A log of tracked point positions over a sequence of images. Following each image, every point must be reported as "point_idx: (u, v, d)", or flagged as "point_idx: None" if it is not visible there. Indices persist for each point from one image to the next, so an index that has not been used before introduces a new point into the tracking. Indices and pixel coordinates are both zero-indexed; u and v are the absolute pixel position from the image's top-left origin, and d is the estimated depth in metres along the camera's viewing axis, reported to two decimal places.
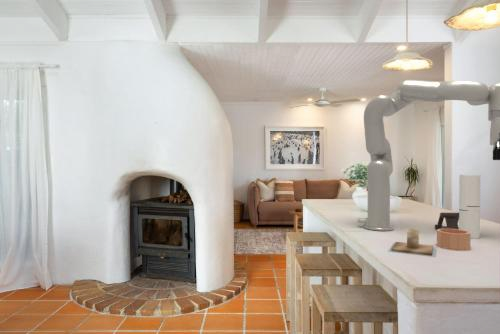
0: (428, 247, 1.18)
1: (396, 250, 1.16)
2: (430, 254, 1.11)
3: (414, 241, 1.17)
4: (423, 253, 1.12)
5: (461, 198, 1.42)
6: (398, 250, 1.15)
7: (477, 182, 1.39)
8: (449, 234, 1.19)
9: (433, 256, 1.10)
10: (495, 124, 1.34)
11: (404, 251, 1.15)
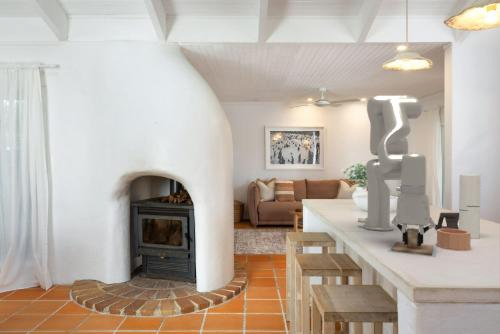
0: (428, 247, 1.18)
1: (396, 250, 1.16)
2: (430, 254, 1.11)
3: (414, 241, 1.17)
4: (423, 253, 1.12)
5: (461, 198, 1.42)
6: (398, 250, 1.15)
7: (477, 182, 1.39)
8: (449, 234, 1.19)
9: (433, 256, 1.10)
10: (428, 202, 1.15)
11: (404, 251, 1.15)
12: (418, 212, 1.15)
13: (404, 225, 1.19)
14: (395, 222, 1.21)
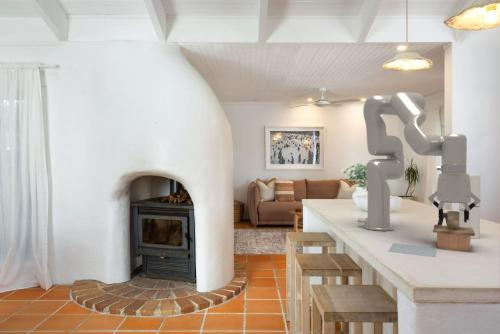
0: (468, 229, 1.22)
1: (438, 231, 1.19)
2: (473, 234, 1.15)
3: (455, 222, 1.21)
4: (465, 233, 1.16)
5: None
6: (440, 231, 1.19)
7: (477, 182, 1.39)
8: (449, 234, 1.19)
9: (433, 256, 1.10)
10: (469, 180, 1.18)
11: (446, 232, 1.18)
12: (460, 190, 1.19)
13: (442, 202, 1.23)
14: (432, 199, 1.25)
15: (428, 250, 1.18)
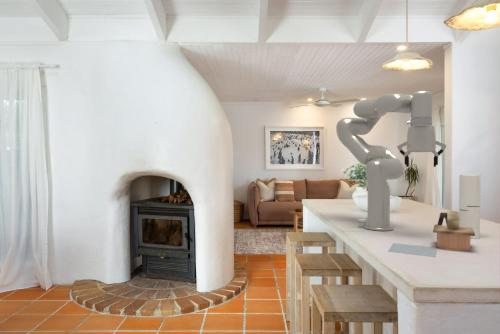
0: (468, 229, 1.22)
1: (438, 231, 1.19)
2: (473, 234, 1.15)
3: (455, 222, 1.21)
4: (465, 233, 1.16)
5: (461, 198, 1.42)
6: (440, 231, 1.19)
7: (477, 182, 1.39)
8: (449, 234, 1.19)
9: (433, 256, 1.10)
10: (434, 131, 1.34)
11: (446, 232, 1.18)
12: (426, 140, 1.35)
13: (408, 151, 1.39)
14: (400, 147, 1.41)
15: (428, 250, 1.18)
